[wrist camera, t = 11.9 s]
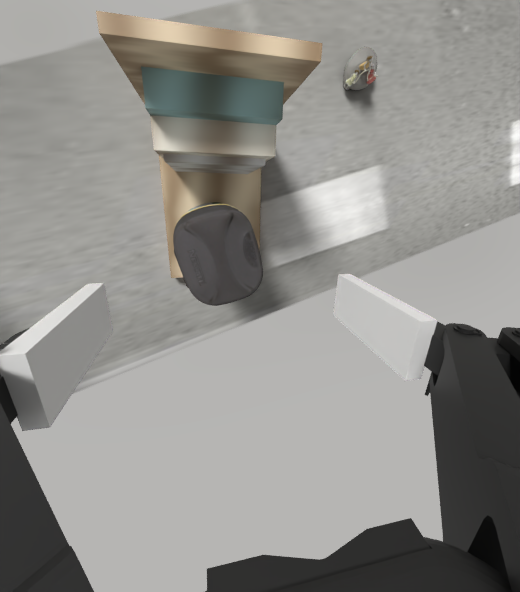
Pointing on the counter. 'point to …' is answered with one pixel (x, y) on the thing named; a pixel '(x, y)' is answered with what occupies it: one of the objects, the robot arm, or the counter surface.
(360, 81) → the figurine
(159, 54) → the shelf
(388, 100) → the counter surface
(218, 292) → the coffee jar
